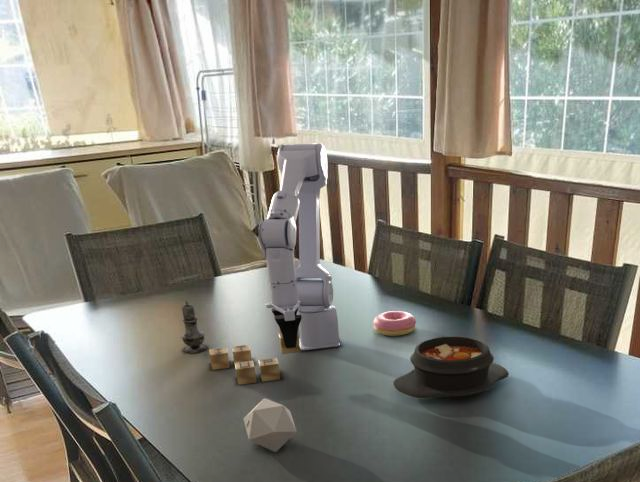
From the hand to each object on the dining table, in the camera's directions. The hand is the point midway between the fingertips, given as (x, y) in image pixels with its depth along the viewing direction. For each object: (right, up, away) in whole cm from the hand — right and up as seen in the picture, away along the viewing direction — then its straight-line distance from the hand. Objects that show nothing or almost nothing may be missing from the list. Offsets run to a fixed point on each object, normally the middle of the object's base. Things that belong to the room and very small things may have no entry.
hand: (289, 344), depth 150 cm
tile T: (-12, -2, +11) cm, 16 cm away
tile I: (-17, -3, +10) cm, 20 cm away
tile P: (-5, -7, +3) cm, 9 cm away
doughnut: (+24, +9, +26) cm, 36 cm away
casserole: (+35, -10, -6) cm, 37 cm away
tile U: (-10, -8, +2) cm, 12 cm away
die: (0, -24, -25) cm, 35 cm away
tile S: (0, -1, +1) cm, 1 cm away
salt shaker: (-26, +3, +21) cm, 33 cm away
